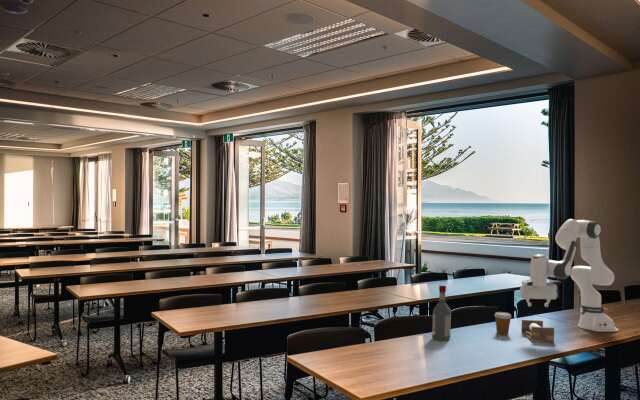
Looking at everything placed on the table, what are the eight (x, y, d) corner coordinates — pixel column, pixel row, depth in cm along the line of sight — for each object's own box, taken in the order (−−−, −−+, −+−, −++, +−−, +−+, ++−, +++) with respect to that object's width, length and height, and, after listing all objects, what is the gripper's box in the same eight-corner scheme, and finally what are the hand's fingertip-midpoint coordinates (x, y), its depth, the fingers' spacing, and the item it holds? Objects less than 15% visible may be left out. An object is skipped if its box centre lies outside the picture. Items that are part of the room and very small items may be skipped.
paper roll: (527, 331, 293) (529, 321, 293) (537, 334, 292) (539, 324, 292) (534, 337, 280) (537, 327, 280) (545, 340, 280) (548, 329, 280)
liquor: (450, 338, 281) (452, 285, 281) (447, 342, 273) (449, 287, 273) (434, 335, 285) (436, 284, 285) (431, 339, 276) (432, 286, 277)
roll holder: (520, 332, 297) (521, 319, 297) (541, 333, 296) (541, 320, 296) (532, 342, 277) (533, 327, 277) (554, 343, 276) (555, 328, 276)
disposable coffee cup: (512, 336, 288) (512, 316, 288) (495, 335, 290) (495, 314, 290) (509, 332, 297) (509, 312, 297) (492, 331, 299) (493, 311, 299)
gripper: (554, 282, 289) (554, 305, 289) (518, 281, 290) (518, 304, 290) (559, 284, 283) (558, 308, 283) (522, 282, 284) (522, 306, 284)
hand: (537, 306), depth 287 cm, fingers open, 8 cm apart
